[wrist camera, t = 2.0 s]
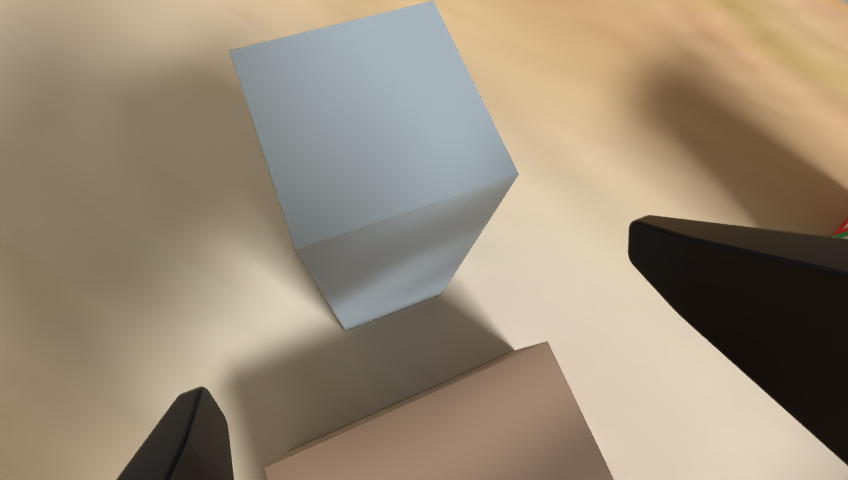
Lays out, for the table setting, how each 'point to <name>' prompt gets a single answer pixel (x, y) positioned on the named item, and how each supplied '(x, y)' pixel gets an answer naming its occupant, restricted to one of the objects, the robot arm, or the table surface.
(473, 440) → the walnut plinth
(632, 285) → the table surface
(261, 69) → the slate block
